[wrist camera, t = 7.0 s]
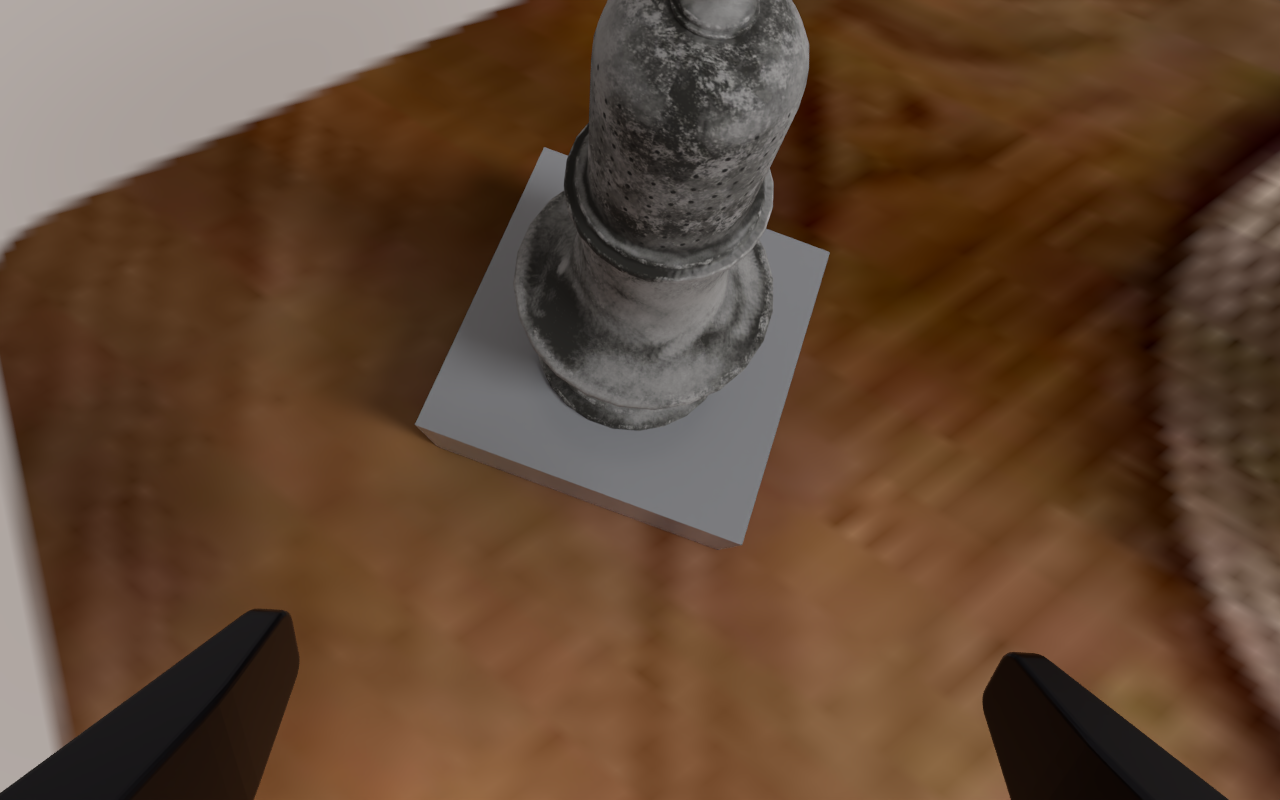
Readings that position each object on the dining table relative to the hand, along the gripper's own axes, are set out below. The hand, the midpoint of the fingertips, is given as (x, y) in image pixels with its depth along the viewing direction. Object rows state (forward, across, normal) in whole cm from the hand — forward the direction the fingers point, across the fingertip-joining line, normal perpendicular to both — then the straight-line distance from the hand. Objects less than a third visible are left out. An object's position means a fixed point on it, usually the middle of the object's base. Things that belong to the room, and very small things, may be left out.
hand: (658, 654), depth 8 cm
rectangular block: (+13, 0, +2) cm, 14 cm away
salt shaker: (+11, 0, +1) cm, 11 cm away
